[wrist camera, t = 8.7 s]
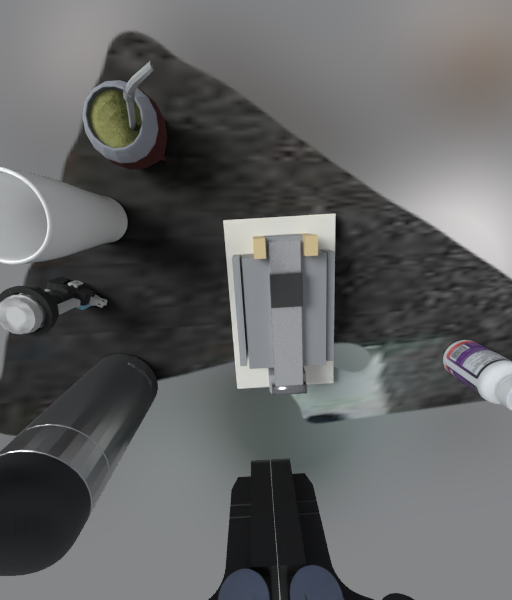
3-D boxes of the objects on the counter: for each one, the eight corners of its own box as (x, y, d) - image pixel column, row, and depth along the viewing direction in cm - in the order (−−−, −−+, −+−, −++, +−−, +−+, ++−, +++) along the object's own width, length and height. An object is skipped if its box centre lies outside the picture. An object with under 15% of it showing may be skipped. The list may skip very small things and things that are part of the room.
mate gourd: (103, 146, 32) (-17, 84, 18) (143, 85, 31) (48, -36, 16) (157, 192, 34) (86, 169, 19) (198, 135, 32) (155, 65, 18)
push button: (113, 283, 36) (63, 305, 27) (104, 320, 38) (53, 354, 28) (60, 265, 36) (-10, 280, 26) (53, 303, 37) (-17, 332, 27)
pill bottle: (479, 371, 40) (548, 416, 31) (440, 376, 41) (497, 422, 31) (481, 336, 39) (554, 371, 30) (442, 341, 39) (502, 378, 30)
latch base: (330, 377, 40) (346, 409, 33) (237, 382, 40) (235, 415, 33) (332, 214, 35) (352, 211, 28) (224, 220, 35) (217, 219, 28)
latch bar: (304, 388, 35) (307, 397, 33) (271, 390, 35) (272, 399, 33) (302, 239, 30) (305, 240, 29) (264, 242, 30) (265, 243, 29)
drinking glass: (142, 242, 35) (66, 255, 21) (90, 253, 35) (-22, 274, 21) (125, 184, 33) (28, 154, 19) (69, 196, 34) (-67, 176, 19)
